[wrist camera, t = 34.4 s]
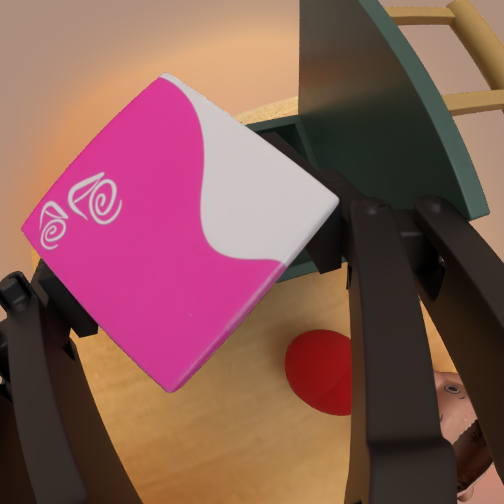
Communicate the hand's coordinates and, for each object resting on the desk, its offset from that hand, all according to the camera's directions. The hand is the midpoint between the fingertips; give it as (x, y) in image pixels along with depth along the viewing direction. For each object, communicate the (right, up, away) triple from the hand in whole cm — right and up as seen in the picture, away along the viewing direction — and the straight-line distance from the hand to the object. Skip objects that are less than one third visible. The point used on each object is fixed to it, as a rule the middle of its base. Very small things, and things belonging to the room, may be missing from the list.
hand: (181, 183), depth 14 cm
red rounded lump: (+10, -15, +19) cm, 26 cm away
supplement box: (+1, -4, +4) cm, 6 cm away
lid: (+8, +4, +3) cm, 9 cm away
